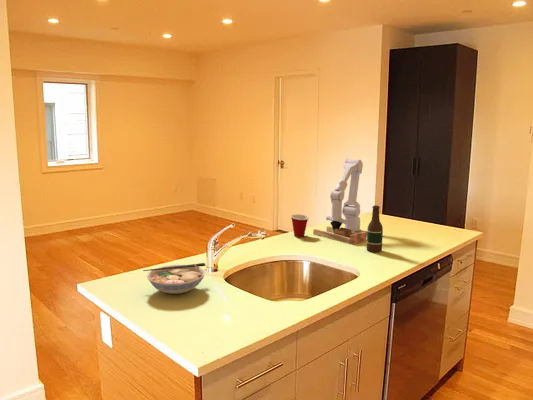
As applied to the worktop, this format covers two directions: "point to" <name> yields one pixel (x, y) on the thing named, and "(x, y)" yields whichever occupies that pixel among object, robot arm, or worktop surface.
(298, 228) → the plastic cup
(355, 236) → the bay
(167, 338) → the worktop surface
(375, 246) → the beer bottle
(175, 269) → the ramen bowl
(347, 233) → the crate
